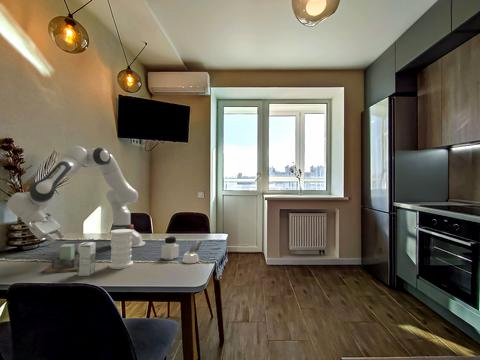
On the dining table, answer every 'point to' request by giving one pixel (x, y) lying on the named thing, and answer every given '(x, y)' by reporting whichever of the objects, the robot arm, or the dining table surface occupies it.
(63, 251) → the square peg
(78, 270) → the syrup box
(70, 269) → the collar stand
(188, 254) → the inkwell
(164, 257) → the medicine bottle
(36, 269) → the dining table surface
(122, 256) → the decorative container
